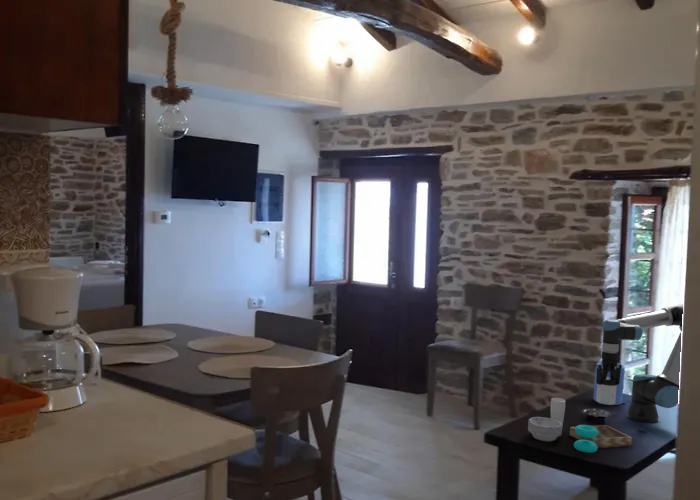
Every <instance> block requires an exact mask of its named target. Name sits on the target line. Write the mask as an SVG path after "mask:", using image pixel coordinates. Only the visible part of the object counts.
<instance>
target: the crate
mask: <svg viewBox="0 0 700 500" xmlns="http://www.w3.org/2000/svg"><path fill="white" fill-rule="evenodd" d="M592 426H593V427H595V428H597V429H598V431H599V433H598V435H597V436H596V437H591V438H589V437H583V436H580V435H578V434H577V433H576V432H575V427H576V426H570V427H569V436H571V437H572V438H574V439H576V440H589V441H592V442H594V443H595V444H596V445H597V447H598V449H603V448H604V449H605V448H619V447H621V448H622V447H631V446H632V441H633V440H632V439H633V437H632V436H630V435H629V434H626V433H623V432H621V430H617V429H615V428H614V427H611V426H609V425H606V424H603V425H602V424H601V425H592Z"/></svg>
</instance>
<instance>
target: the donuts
mask: <svg viewBox="0 0 700 500" xmlns="http://www.w3.org/2000/svg"><path fill="white" fill-rule="evenodd" d="M593 426H594V425H588V424H578V425H576V426H574V427H575V432H576V433H577V434H578V435H580V436H583V437H589V438H591V437H596V436H597V435H598V433H599V431H598V429H597V428H595V427H593ZM573 447H574V449H576V451H579V452H583V453H589V454H591V453H596V452H597V451H598V449H599V448H598V447H597V445H596V444H595V443H594V442H592V441H589V440H578V439H576V441H574V442H573Z"/></svg>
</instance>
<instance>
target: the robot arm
mask: <svg viewBox="0 0 700 500" xmlns="http://www.w3.org/2000/svg"><path fill="white" fill-rule="evenodd" d="M682 314H683V304H677V305H676V304H675V305H672V306H668V307H663V308H661V309H660V310H658V311H652V312H647V313H642V314H638V315H634V316H629V317H625V318H619V319H606V320H604V321H603V322H602V324H601V329H602V332H603V333H602V345H601V346H602V347H601V350H602V351H601V361H600V362H601V363H600V364H597V363H595V367H597V380H596V383H597V384H599V385H601V384H602V379H606V377H607V373H608V372H610V378H612V379H616V385H617V384H619V383H620V372H621V368H622V366H623V365H622V364H621V363H619V362H618V359H619V350H620V349H619V348H620V341H638V340H640V339H642V337H643V331H644V330H647V329H651V328H656V327H661V326H666V327H672V326H678V328H679V330H680V333H679V335H678V337H677V339H676V341H675V343H674V346H673V348H672V350H671V352H670V354H669V357H668V359H667V361H666V362H665V363H666V364H665V365H664V366H663V367H664V368H663V370H662V372H661V373H660V374H658V375H654V374H638V373H637V374H634V375H633V377H632V387H631V388H632V389H631V403H630V406H629V407H628V410H627V411H626V417H627V418H628V419H631V420H633V421H635V422H642V423H657V422H659V419H660V418H659V414H658V410H657V409H658V408H657V406H658V407H660V408H664V409H671V408H674V407H675V406H677V405H678V404H679V403H678V390H680V389H679V383H680V380H679V372H680V352H681V331H682ZM618 363H619V364H618ZM620 364H621V365H620ZM602 366H603V369H602ZM615 367H616V369H615Z"/></svg>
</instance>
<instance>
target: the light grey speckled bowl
mask: <svg viewBox="0 0 700 500" xmlns="http://www.w3.org/2000/svg"><path fill="white" fill-rule="evenodd" d="M527 424H528V426H527V430H528V432H529V433H530V434H531V435H532V438H534V439H536V440H538V441H542V442H554V441H556V439H557V438H558V437H561V436H562V433H563V426H562V423H561V422H559V421H557V420H555V419H551V417H543V416H533V417H529V419H528V423H527Z"/></svg>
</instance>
